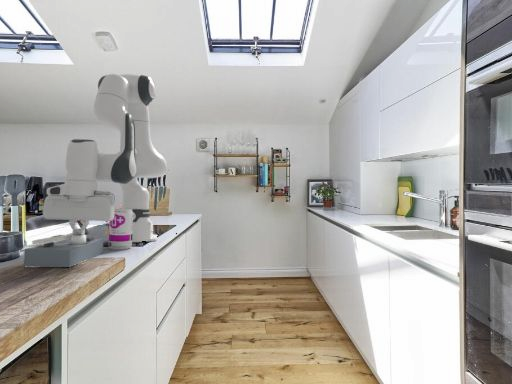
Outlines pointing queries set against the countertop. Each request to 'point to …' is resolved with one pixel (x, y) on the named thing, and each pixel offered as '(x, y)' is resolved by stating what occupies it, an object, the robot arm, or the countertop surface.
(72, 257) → the console
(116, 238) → the supplement can
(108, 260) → the countertop surface
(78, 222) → the lever
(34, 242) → the rocker
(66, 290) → the countertop surface
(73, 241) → the button
